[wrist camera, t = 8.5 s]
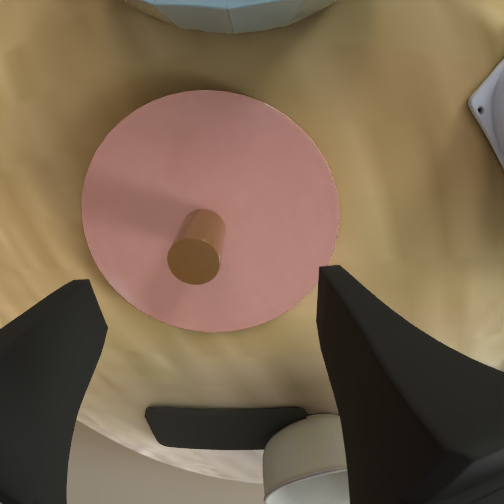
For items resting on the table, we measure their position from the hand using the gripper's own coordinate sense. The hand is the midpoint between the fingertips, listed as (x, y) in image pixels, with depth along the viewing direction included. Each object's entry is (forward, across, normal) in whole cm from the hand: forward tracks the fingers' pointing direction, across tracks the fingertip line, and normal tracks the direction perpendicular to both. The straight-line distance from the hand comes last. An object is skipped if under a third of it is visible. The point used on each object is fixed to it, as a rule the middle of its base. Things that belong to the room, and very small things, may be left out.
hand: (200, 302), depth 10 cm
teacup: (+9, -7, +24) cm, 27 cm away
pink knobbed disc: (+8, +1, +1) cm, 9 cm away
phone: (+9, +3, +22) cm, 24 cm away
